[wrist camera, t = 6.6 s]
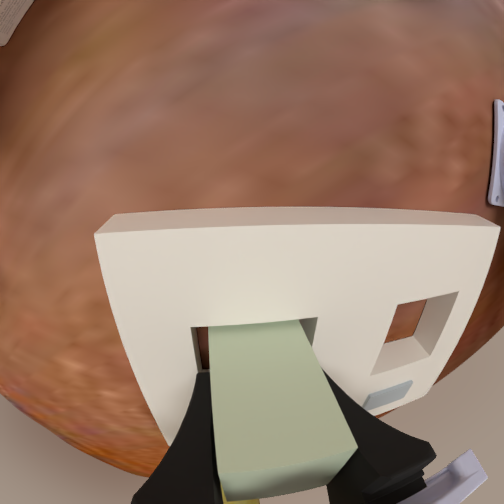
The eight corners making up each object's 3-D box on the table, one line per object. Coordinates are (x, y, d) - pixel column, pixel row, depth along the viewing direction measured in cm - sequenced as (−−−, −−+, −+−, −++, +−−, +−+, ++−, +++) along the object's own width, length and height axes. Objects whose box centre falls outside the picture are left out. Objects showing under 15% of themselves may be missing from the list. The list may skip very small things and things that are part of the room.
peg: (290, 303, 13) (358, 447, 6) (283, 360, 15) (327, 484, 7) (207, 309, 13) (218, 473, 5) (213, 366, 14) (227, 501, 7)
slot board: (475, 214, 14) (503, 228, 11) (413, 377, 20) (427, 397, 18) (114, 214, 11) (90, 236, 8) (170, 419, 17) (169, 449, 15)
